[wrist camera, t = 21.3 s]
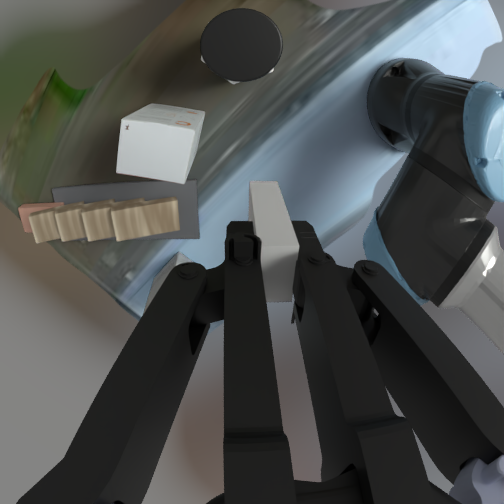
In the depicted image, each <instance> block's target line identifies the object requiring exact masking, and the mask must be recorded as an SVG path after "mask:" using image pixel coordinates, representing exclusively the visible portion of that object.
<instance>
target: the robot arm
mask: <svg viewBox="0 0 504 504" xmlns="http://www.w3.org/2000/svg"><path fill="white" fill-rule="evenodd" d="M367 109H368V114H369V118H370V121H371V123H372V125H373V127H374V129H375V131H376V132H377V134H378V135H379V136H380V137H381V138H382V139H383V140H384V141H385V142H386V143H388V144H389V145H391V146H393V147H394V148H396V149H398V150H400V151H403V152H406V153H409V155H408V156H407V158H406V160H405V162H404V163H403V165H402V167H401V169H400V171H399V173H398V175H397V176H396V178H395V180H394V182H393V183H392V185H391V187H390V189H389V190H388V192H387V194H386V196H385V197H384V199H383V201H382V202H381V204H380V206H379V207H377V208H376V210H375V211H374V216H373V218H372V220H371V222H370V224H369V226H368V228H367V230H366V231H365V234H364V237H363V246H364V250H365V255H366V257H367V260H360V261H358V262H356V264H355V265H354V269H352V268H347V267H342V266H339V265H336V263H335V261H334V259H333V258H332V257H331V256H330V255H329V254H327V253H325V252H324V251H323V249H322V247H321V244H320V242H319V240H318V238H317V235H316V233H315V231H314V228H313V226H312V225H310V224H309V223H308V222H307V221H291V220H290V217H289V214H288V211H287V208H286V205H285V202H284V199H283V196H282V194H281V191H280V188H279V185H278V182H277V181H250V184H249V218H248V221H231V222H230V223H229V224H228V226H227V232H226V240H225V261H224V262H223V263H222V264H221V265H219V266H217V267H215V268H212V269H208V270H206V269H205V267H204V266H202V265H201V264H199V263H195V262H185V263H181V264H179V265H177V266H175V267H174V268H173V269H172V270H171V271H170V273H169V274H168V276H167V277H166V279H165V280H164V282H163V284H162V285H161V287H160V288H159V290H158V292H157V293H156V295H155V296H154V298H153V300H152V301H151V303H150V304H149V306H148V308H147V309H146V311H145V313H144V314H143V316H142V317H141V319H140V321H139V322H138V324H137V326H136V327H135V329H134V331H133V332H132V334H131V336H130V338H129V339H128V341H127V343H126V344H125V346H124V348H123V349H122V351H121V353H120V355H119V356H118V358H117V360H116V362H115V363H114V365H113V367H112V369H111V370H110V372H109V374H108V375H107V377H106V379H105V381H104V383H103V384H102V386H101V388H100V390H99V392H98V394H97V395H96V397H95V399H94V401H93V403H92V405H91V406H90V408H89V410H88V412H87V414H86V416H85V418H84V420H83V421H82V423H81V425H80V427H79V429H78V431H77V433H76V435H75V437H74V439H73V441H72V443H71V445H70V447H69V449H68V451H67V453H66V455H65V457H64V458H63V459H62V460H61V461H60V462H59V463H58V464H57V465H56V466H55V467H54V468H53V469H52V470H51V471H49V472H48V473H47V474H46V475H45V476H44V477H43V478H42V479H41V480H40V481H39V482H38V483H37V484H35V485H34V486H33V487H32V488H31V489H30V490H29V491H28V492H27V493H26V494H24V496H22V497H21V498H20V499H19V500H18V502H17V503H16V504H141V503H142V501H143V499H144V497H145V494H146V492H147V490H148V488H149V485H150V482H151V479H152V477H153V474H154V471H155V469H156V466H157V463H158V461H159V458H160V455H161V453H162V450H163V447H164V445H165V442H166V440H167V437H168V434H169V432H170V429H171V426H172V423H173V421H174V418H175V416H176V413H177V411H178V408H179V405H180V403H181V400H182V398H183V395H184V392H185V390H186V387H187V385H188V382H189V379H190V377H191V374H192V372H193V369H194V366H195V364H196V361H197V359H198V356H199V353H200V351H201V348H202V346H203V343H204V340H205V338H206V336H207V333H208V330H209V328H210V323H212V322H216V321H220V320H223V319H224V442H223V444H224V445H223V449H224V450H223V452H224V453H223V454H224V493H222V494H220V495H218V496H216V497H215V498H213V499H212V500H210V501H209V502H208V503H206V504H504V408H503V406H502V405H501V403H500V402H499V401H498V399H497V398H496V397H495V395H494V394H493V393H492V392H491V390H490V389H489V387H488V386H487V385H486V384H485V382H484V381H483V380H482V378H481V377H480V376H479V375H478V373H477V372H476V371H475V370H474V368H473V367H472V366H471V365H470V363H469V362H468V361H467V360H466V359H465V357H464V356H463V355H462V354H461V352H460V351H459V350H458V349H457V348H456V346H455V345H454V344H453V343H452V342H451V341H450V339H449V338H448V337H447V336H446V335H445V333H444V332H443V331H442V330H441V329H440V328H439V327H438V326H437V324H436V323H435V322H434V321H433V320H432V319H431V317H429V315H428V314H427V313H426V312H425V311H424V310H423V309H422V307H420V305H423V304H424V303H427V302H428V301H429V300H430V301H432V302H433V303H434V304H435V305H436V306H437V307H438V308H439V309H444V308H445V309H446V308H458V309H459V310H460V311H461V312H462V313H463V314H465V316H466V317H467V318H469V319H470V320H471V321H472V322H473V323H474V324H475V325H476V326H477V327H478V328H479V329H480V330H481V331H482V332H483V333H484V334H485V335H486V336H487V337H488V338H489V340H491V341H492V342H493V344H494V345H495V346H496V347H497V348H498V349H499V350H500V351H501V352H502V353H503V354H504V251H503V250H502V248H501V247H500V243H499V237H498V231H497V228H496V226H494V225H493V224H492V223H491V222H489V221H488V220H487V219H486V216H487V213H488V212H489V211H490V209H491V207H492V205H493V204H494V202H495V201H497V202H504V89H503V88H500V87H497V86H495V85H494V84H492V83H489V82H486V81H482V82H480V81H476V80H472V79H467V78H462V77H456V76H451V75H445V74H444V73H442V72H441V71H440V70H438V69H437V68H435V67H434V66H433V65H431V64H429V63H427V62H425V61H422V60H418V59H410V58H400V59H396V60H393V61H390V62H388V63H386V64H385V65H384V66H382V67H381V68H380V69H379V70H378V71H377V73H376V74H375V75H374V77H373V79H372V81H371V83H370V86H369V90H368V95H367ZM486 212H487V213H486ZM293 294H294V299H295V301H294V308H293V314H292V320H291V323H294V320H296V325H297V330H298V335H299V339H300V344H301V349H302V354H303V359H304V364H305V369H306V374H307V379H308V384H309V389H310V394H311V400H312V405H313V410H314V415H315V420H316V426H317V431H318V437H319V442H320V448H321V453H322V468H321V479H322V482H309V481H299V480H294V477H293V470H292V463H291V454H290V447H289V442H288V438H287V436H286V435H285V434H284V431H283V426H282V418H281V410H280V403H279V395H278V387H277V380H276V371H275V364H274V356H273V349H272V341H271V333H270V326H269V319H268V311H267V304H266V302H291V301H292V295H293ZM374 309H376V310H377V312H378V313H379V315H378V316H377V315H376V314H375V313H374ZM385 387H386V388H387V390H388V391H389V393H390V394H391V396H392V398H393V399H394V401H395V402H396V404H397V405H398V407H399V408H400V410H401V412H402V413H403V415H404V416H405V417H399V416H397V415H396V414H395V413H394V411H393V408H392V405H391V403H390V399H389V396H388V393H387V391H386V388H385ZM412 429H413V430H414V432H415V434H416V435H417V437H418V438H419V440H420V442H421V443H422V445H423V446H424V448H425V450H426V451H427V453H428V454H429V456H430V458H431V459H432V461H433V462H434V464H435V465H436V466H437V468H438V469H439V470H440V472H441V473H442V474H443V475H444V476H445V477H446V478H447V479H448V480H449V481H450V482H451V483H452V484H453V485H454V487H452V488H451V490H450V492H449V495H448V494H447V493H445V492H444V491H442V490H441V489H440V488H438V487H437V486H435V485H434V484H433V483H431V482H430V481H428V478H427V474H426V471H425V467H424V464H423V461H422V458H421V454H420V451H419V448H418V445H417V442H416V439H415V436H414V433H413V430H412Z"/></svg>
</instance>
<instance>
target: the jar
mask: <svg viewBox="0 0 504 504" xmlns="http://www.w3.org/2000/svg"><path fill="white" fill-rule="evenodd" d="M282 48H283V41H282V36H281V33H280V31H279V29H278V27H277V25H276V24H275V23H274V22H273V21H272V20H271V19H270V18H269V17H268V16H266V15H265V14H263V13H261V12H259V11H256V10H252V9H246V8H238V9H231V10H228V11H225V12H223V13H221V14H219V15H217V16H216V17H215V18H213V19H212V20H211V21H210V22H209V23H208V25H207V26H206V27H205V29H204V31H203V33H202V36H201V41H200V50H201V55H202V56H201V61H202V62H204V63H205V64H206V65H207V66H208V68H209V69H210V70H211V71H212V72H214V73H215V74H216V75H218V76H220V77H222V78H224V79H226V80H228V81H229V82H230V83H232V84H236V83H239V82H247V81H252V80H256V79H258V78H261V77H263V76H265V75H266V74H268V73H271V72H273V70H274V67H275V66H276V64H277V63H278V61H279V59H280V57H281V54H282Z"/></svg>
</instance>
